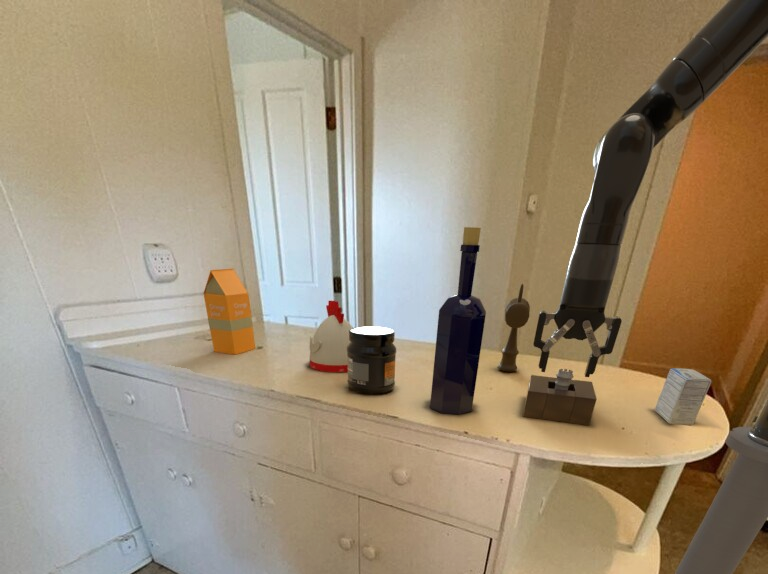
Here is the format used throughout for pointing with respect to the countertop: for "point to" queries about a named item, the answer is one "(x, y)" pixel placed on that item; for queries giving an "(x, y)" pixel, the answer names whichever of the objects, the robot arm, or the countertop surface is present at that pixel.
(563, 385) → the rook chess piece
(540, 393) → the socket block
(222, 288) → the orange juice
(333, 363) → the kitchen timer
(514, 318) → the kendama
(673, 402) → the medicine box
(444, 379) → the bottle
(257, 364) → the countertop surface
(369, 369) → the supplement container
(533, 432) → the countertop surface
